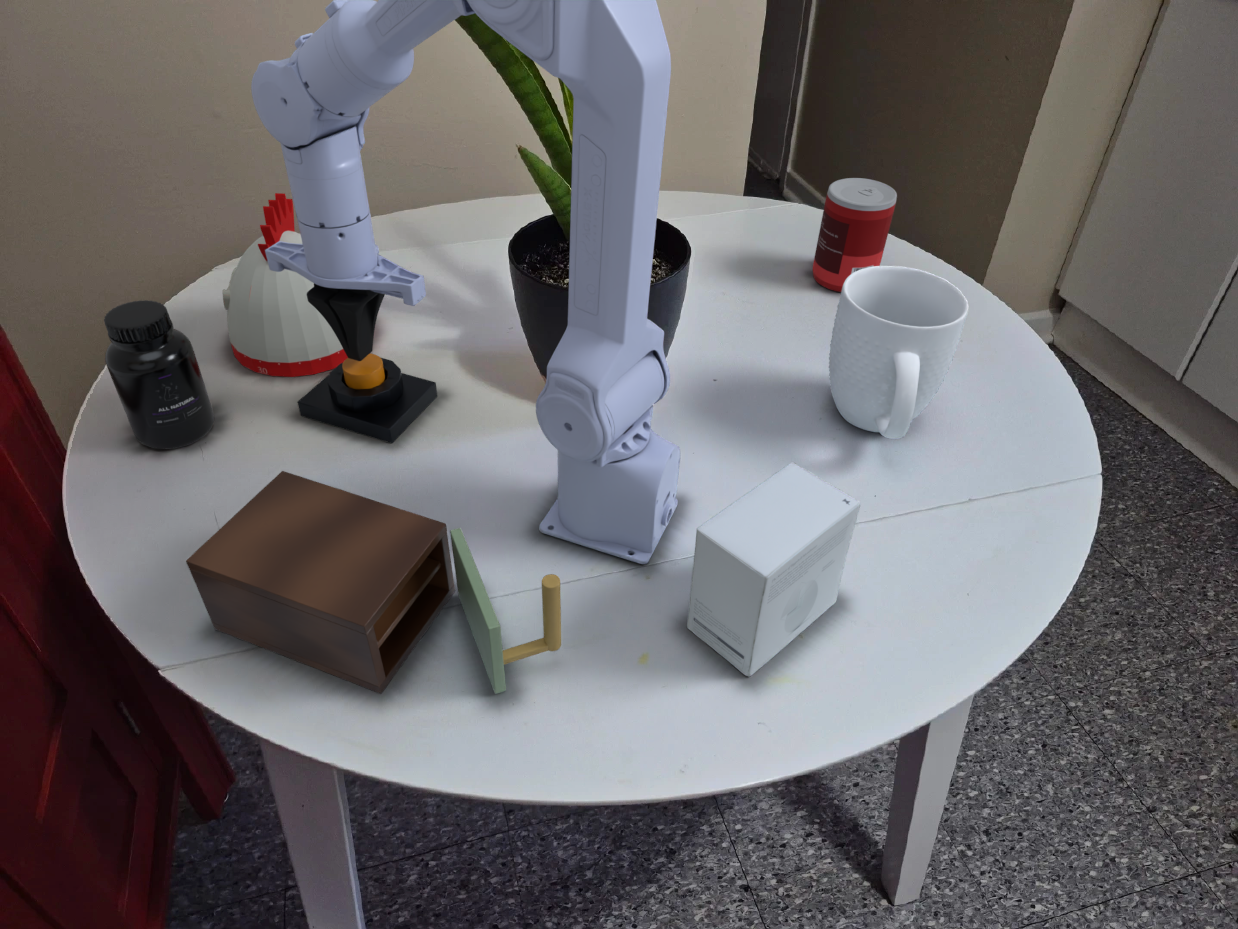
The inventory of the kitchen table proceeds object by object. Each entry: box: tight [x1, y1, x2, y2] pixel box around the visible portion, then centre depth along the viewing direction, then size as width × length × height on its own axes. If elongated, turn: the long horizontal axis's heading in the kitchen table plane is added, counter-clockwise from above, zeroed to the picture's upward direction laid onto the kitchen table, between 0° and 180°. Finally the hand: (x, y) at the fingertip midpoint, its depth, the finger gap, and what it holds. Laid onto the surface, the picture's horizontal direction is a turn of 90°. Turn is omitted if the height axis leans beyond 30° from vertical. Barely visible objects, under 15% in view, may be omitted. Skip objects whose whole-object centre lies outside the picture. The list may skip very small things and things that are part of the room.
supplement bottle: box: [103, 299, 215, 450], centre depth 76 cm, size 7×7×12 cm
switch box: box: [296, 356, 438, 444], centre depth 82 cm, size 10×8×4 cm
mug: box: [828, 265, 969, 440], centre depth 79 cm, size 15×11×13 cm
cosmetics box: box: [686, 461, 862, 678], centre depth 62 cm, size 10×6×10 cm, turn 133°
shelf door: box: [449, 527, 562, 695], centre depth 60 cm, size 5×9×8 cm, turn 23°
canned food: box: [812, 177, 898, 293], centre depth 102 cm, size 8×8×11 cm
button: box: [342, 352, 385, 389], centre depth 80 cm, size 4×4×2 cm
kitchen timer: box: [221, 192, 348, 378], centre depth 86 cm, size 14×14×15 cm
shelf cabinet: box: [185, 470, 456, 695], centre depth 62 cm, size 14×10×7 cm
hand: (360, 354), depth 79 cm, fingers closed
